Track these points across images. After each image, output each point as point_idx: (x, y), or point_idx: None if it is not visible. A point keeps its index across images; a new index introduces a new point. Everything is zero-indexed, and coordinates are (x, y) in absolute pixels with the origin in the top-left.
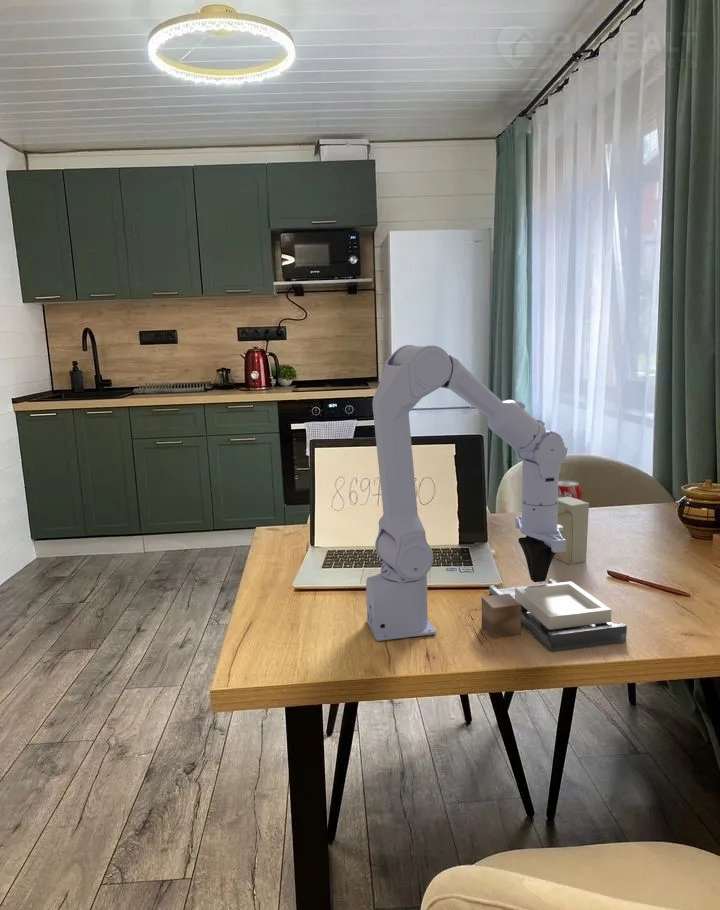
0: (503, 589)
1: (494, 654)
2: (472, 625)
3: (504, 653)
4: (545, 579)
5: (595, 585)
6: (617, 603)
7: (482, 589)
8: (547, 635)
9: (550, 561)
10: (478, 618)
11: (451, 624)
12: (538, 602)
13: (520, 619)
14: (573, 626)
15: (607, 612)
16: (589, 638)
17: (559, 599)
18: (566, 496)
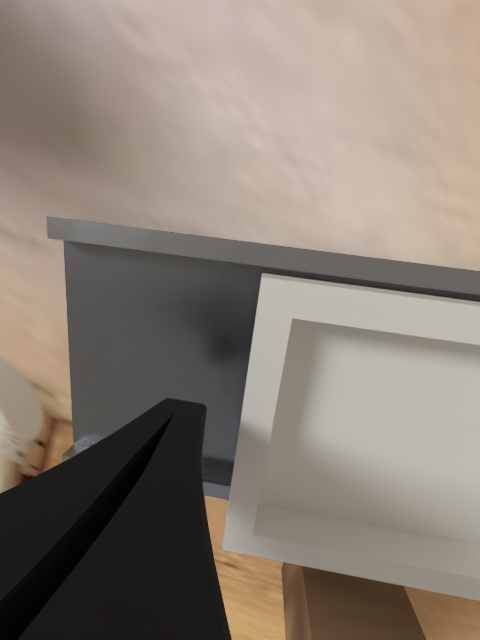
0: (81, 418)
1: (432, 621)
2: (267, 583)
3: (442, 605)
4: (205, 410)
5: (109, 6)
6: (333, 51)
7: (48, 448)
8: None
9: (204, 515)
10: (235, 553)
11: (241, 612)
12: (415, 569)
13: (404, 589)
14: None
15: None
16: None
17: (354, 408)
18: None
